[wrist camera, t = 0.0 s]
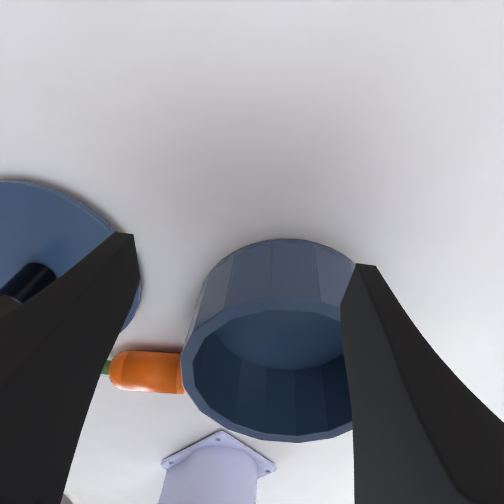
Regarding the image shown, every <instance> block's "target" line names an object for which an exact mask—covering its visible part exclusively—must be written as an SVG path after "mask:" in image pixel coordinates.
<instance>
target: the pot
mask: <svg viewBox="0 0 504 504" xmlns="http://www.w3.org/2000/svg"><path fill="white" fill-rule="evenodd" d="M355 266H356V265H355V264H354V263H353V262H352V261H351V260H350V259H348V258H347V257H345V256H344V255H343V254H341V253H339V252H337V251H335V250H333V249H331V248H329V247H327V246H324V245H321V244H318V243H314V242H310V241H306V240H297V239H275V240H267V241H262V242H258V243H254V244H251V245H248V246H246V247H243V248H241V249H239V250H237V251H235V252H233V253H232V254H230V255H229V256H227V257H226V258H224V259H223V260H222V261H221V262H220V263H219V264H218V265H217V266H215V268H214V269H213V270H212V271H211V273H210V274H209V276H208V277H207V279H206V281H205V283H204V285H203V288H202V291H201V293H200V295H199V297H198V299H197V303H196V306H195V309H194V312H193V316H192V319H191V322H190V326H189V329H188V332H187V335H186V339H185V342H184V345H183V348H182V352H181V355H180V367H181V376H182V384H183V388H184V390H185V391H186V392H187V394H188V395H189V396H190V398H191V399H192V401H193V402H194V403H195V405H196V406H197V408H198V409H199V410H200V411H201V412H202V413H204V414H205V415H207V416H208V417H210V418H211V419H213V420H214V421H216V422H217V423H219V424H221V425H222V426H224V427H225V428H227V429H229V430H232V431H235V432H238V433H241V434H244V435H247V436H250V437H253V438H256V439H260V440H268V441H280V442H293V443H297V442H298V443H301V442H308V441H315V440H322V439H329V438H333V437H336V436H339V435H341V434H343V433H346V432H348V431H350V430H353V426H352V408H351V399H350V392H349V385H348V379H347V372H346V366H345V359H344V352H343V346H342V339H341V326H340V303H341V301H342V298H343V296H344V293H345V291H346V288H347V286H348V283H349V281H350V278H351V276H352V273H353V271H354V268H355Z"/></svg>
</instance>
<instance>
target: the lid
mask: <svg viewBox="0 0 504 504" xmlns="http://www.w3.org/2000/svg"><path fill="white" fill-rule="evenodd" d="M114 232H115V230H114V229H113V228H112V227H111V226H110V225H109V224H108V223H107V222H106V221H105V220H104V219H102V218H101V217H100V216H99V215H98V214H97V213H95V212H94V211H93V210H91V209H90V208H88V207H87V206H86V205H84V204H82V203H81V202H79V201H77V200H76V199H74V198H72V197H70V196H68V195H66V194H64V193H62V192H60V191H57V190H55V189H52V188H49V187H46V186H43V185H40V184H35V183H31V182H26V181H17V180H0V317H2V316H3V315H5V314H7V313H8V312H10V311H12V310H13V309H15V308H16V307H18V306H20V305H21V304H23V303H24V302H26V301H27V300H29V299H30V298H32V297H33V296H35V295H36V294H37V293H39V292H40V291H41V290H43V289H44V288H46V287H47V286H48V285H50V284H51V283H52V282H54V281H55V280H56V279H58V278H59V277H60V276H62V275H63V274H64V273H65V272H67V271H68V270H69V269H70V268H72V267H73V266H74V265H75V264H77V263H78V262H79V261H80V260H82V259H83V258H84V257H85V256H86V255H88V254H89V253H90V252H91V251H92V250H94V249H95V248H96V247H97V246H98V245H99V244H101V243H102V242H103V241H104V240H105V239H107V238H108V237H109V236H110V235H111V234H113V233H114ZM140 294H141V285H140V282H139V285H138V288H137V292H136V295H135V298H134V301H133V304H132V307H131V309H130V311H129V313H128V316H127V318H126V320H125V322H124V324H123V327H122V329H121V331H122V330H124V329H125V328H126V327H127V326H128V324H129V323H130V321H131V320H132V319H133V317H134V315H135V312H136V310H137V308H138V305H139V301H140ZM121 331H120V332H121Z"/></svg>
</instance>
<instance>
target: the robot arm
mask: <svg viewBox="0 0 504 504" xmlns="http://www.w3.org/2000/svg"><path fill="white" fill-rule="evenodd" d="M139 282H140V272H139V266H138V260H137V254H136V248H135V241H134V235H133V234H126V233H119V232H114V233H113V234H111V235H110V236H109V237H108V238H107V239H105V240H104V241H103V242H102V243H101V244H99V245H98V246H97V247H96V248H95V249H94V250H92V251H91V252H90V253H89V254H88V255H86V256H85V257H84V258H83V259H82V260H80V261H79V262H78V263H77V264H75V265H74V266H73V267H72V268H70V269H69V270H68V271H67V272H65V273H64V274H63V275H62V276H60V277H59V278H58V279H56V280H55V281H54V282H52V283H51V284H50V285H48V286H47V287H46V288H44V289H43V290H41V291H40V292H39V293H37V294H36V295H35V296H33V297H32V298H30V299H29V300H27V301H26V302H24V303H23V304H21V305H20V306H18V307H16V308H15V309H13V310H12V311H10V312H8V313H7V314H5V315H3V316H2V317H0V504H60V503H61V500H62V496H63V492H64V489H65V485H66V481H67V478H68V474H69V470H70V467H71V463H72V460H73V457H74V453H75V450H76V447H77V443H78V440H79V437H80V434H81V430H82V427H83V424H84V421H85V418H86V415H87V412H88V409H89V406H90V403H91V400H92V397H93V394H94V391H95V388H96V386H97V383H98V380H99V377H100V375H101V372H102V370H103V367H104V365H105V363H106V361H107V359H108V356H109V354H110V352H111V350H112V348H113V346H114V344H115V342H116V339H117V337H118V335H119V333H120V331H121V329H122V327H123V324H124V322H125V320H126V318H127V316H128V313H129V311H130V309H131V307H132V304H133V301H134V298H135V295H136V292H137V288H138V285H139ZM340 326H341V339H342V346H343V352H344V359H345V366H346V372H347V379H348V385H349V392H350V399H351V408H352V426H353V449H354V498H355V504H504V422H502V421H501V420H500V419H499V418H498V417H497V416H496V415H495V414H494V413H493V412H492V411H491V410H489V409H488V408H487V407H486V406H485V405H484V404H483V403H482V402H481V401H480V400H479V399H478V398H477V397H476V396H475V395H474V394H473V393H472V392H471V391H470V390H469V389H468V388H467V387H466V386H465V385H464V384H463V383H462V382H461V380H460V379H459V378H458V377H457V376H456V375H455V374H454V373H453V372H452V371H451V369H450V368H449V367H448V366H447V365H446V364H445V363H444V362H443V360H442V359H441V358H440V357H439V356H438V355H437V353H436V352H435V351H434V350H433V349H432V347H431V346H430V345H429V343H428V342H427V341H426V340H425V338H424V337H423V336H422V334H421V333H420V332H419V330H418V329H417V328H416V326H415V325H414V323H413V322H412V321H411V319H410V318H409V316H408V315H407V313H406V312H405V310H404V309H403V308H402V306H401V305H400V303H399V302H398V300H397V299H396V297H395V295H394V294H393V292H392V291H391V289H390V288H389V286H388V285H387V283H386V281H385V280H384V278H383V277H382V275H381V273H380V272H379V270H378V269H377V267H376V266H373V265H366V264H358V263H356V266H355V268H354V271H353V273H352V276H351V278H350V281H349V283H348V286H347V288H346V291H345V293H344V296H343V298H342V301H341V303H340ZM161 466H162V467H163V468H165V469H166V470H167V472H166V476H165V480H164V484H163V487H162V491H161V495H160V499H159V503H158V504H256V490H257V479H258V478H260V477H262V476H265V475H267V474H270V473H272V472H274V471H276V465H275V464H273V463H272V462H270V461H269V460H267V459H265V458H264V457H262V456H261V455H259V454H258V453H256V452H255V451H253V450H252V449H250V448H249V447H247V446H246V445H244V444H243V443H241V442H240V441H238V440H237V439H235V438H233V437H232V436H230V435H229V434H227V433H226V432H224V431H219V432H217V433H215V434H213V435H211V436H209V437H207V438H205V439H203V440H201V441H199V442H198V443H196V444H194V445H192V446H190V447H188V448H186V449H184V450H182V451H180V452H178V453H176V454H174V455H172V456H170V457H169V458H167V459H165V460H163V461H162V463H161Z"/></svg>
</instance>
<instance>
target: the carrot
mask: <svg viewBox="0 0 504 504" xmlns="http://www.w3.org/2000/svg"><path fill="white" fill-rule="evenodd" d="M180 355H181V354H177V353H163V352H148V351H134V350H127V351H124V352H121V353H119V354H118V355H117V356H115V357H114V359H113V360H112V361H110V360H107V361H106V363H105V365H104V367H103V370H102V372H101V375H100V376H109V378H110V380H111V382H112V383H113V385H114V386H116V387H117V388H119V389H122V390H132V391H145V392H158V393H172V394H184V393H187V392H186V391H185V390H184V388H183V384H182V376H181V367H180Z"/></svg>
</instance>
